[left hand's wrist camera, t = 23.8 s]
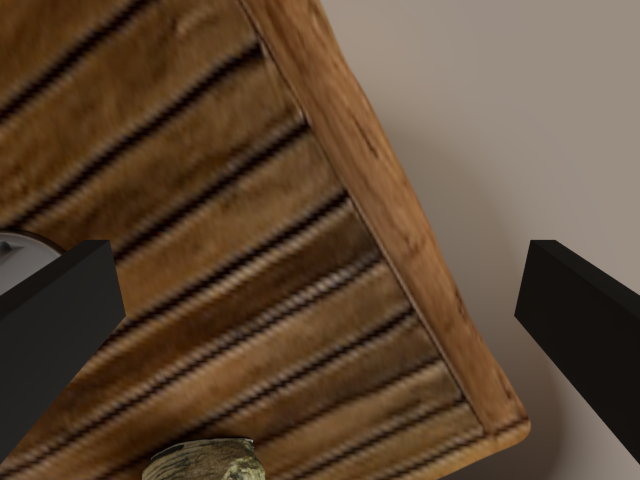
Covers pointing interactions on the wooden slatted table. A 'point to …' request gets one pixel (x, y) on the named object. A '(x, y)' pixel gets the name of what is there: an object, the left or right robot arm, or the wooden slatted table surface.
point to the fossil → (206, 461)
